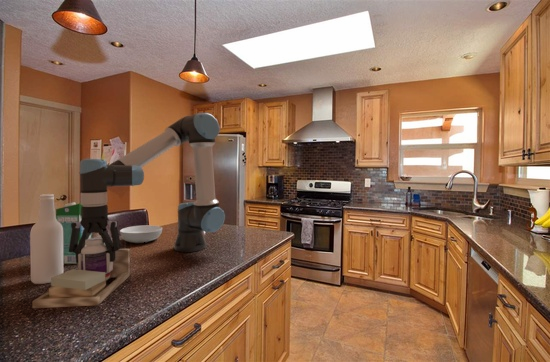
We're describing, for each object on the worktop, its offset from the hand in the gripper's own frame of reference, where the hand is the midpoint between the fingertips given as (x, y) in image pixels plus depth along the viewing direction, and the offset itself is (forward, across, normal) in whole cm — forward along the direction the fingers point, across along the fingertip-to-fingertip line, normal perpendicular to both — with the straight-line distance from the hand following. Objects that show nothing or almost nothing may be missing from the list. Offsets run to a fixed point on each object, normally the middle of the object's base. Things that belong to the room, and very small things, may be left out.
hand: (96, 271), depth 91 cm
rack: (+4, 0, +5) cm, 6 cm away
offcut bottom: (+5, 0, +10) cm, 11 cm away
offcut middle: (+2, 0, +10) cm, 10 cm away
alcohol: (+4, +19, -5) cm, 20 cm away
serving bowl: (+5, +6, -57) cm, 58 cm away
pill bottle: (+3, 0, 0) cm, 3 cm away
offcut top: (0, 0, +10) cm, 10 cm away
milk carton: (+4, +22, -26) cm, 34 cm away
